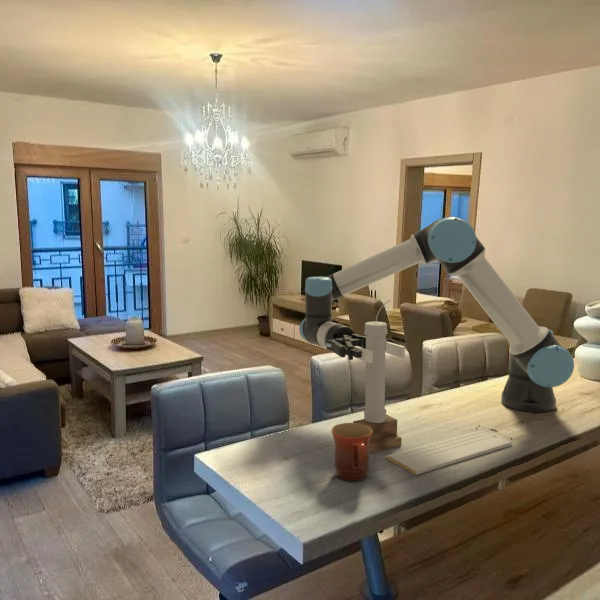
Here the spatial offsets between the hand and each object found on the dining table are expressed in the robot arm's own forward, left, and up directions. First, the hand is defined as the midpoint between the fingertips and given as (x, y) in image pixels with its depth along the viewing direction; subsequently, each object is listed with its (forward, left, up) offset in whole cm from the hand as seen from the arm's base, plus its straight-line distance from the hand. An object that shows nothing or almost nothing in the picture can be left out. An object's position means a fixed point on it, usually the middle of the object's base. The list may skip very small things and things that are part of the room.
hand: (387, 354), depth 127 cm
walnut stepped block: (0, -5, -24) cm, 24 cm away
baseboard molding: (-13, +7, -24) cm, 28 cm away
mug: (+15, +8, -24) cm, 29 cm away
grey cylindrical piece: (0, -5, -18) cm, 18 cm away
